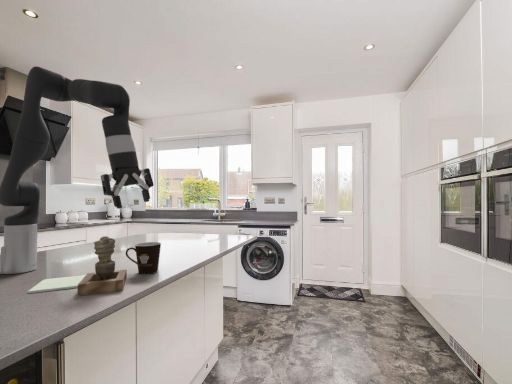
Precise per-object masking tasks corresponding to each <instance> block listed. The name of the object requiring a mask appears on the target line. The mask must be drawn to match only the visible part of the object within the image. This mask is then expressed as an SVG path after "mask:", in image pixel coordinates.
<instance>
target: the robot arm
mask: <svg viewBox="0 0 512 384" xmlns="http://www.w3.org/2000/svg"><path fill="white" fill-rule="evenodd" d="M24 89H25V90H24V95H23V102H22V108H21V112H20V117H19V120H18V125H17V128H16V131H15V135H14V138H13V142H12V148H11V152H10V156H9V161H8V164H7V166H6V171H5V173H4V176H3V178H2V181H1V182H0V205H2V206H4V207H23V209H22V210H20V211H19V212H18V213H15V214H13V215H12V214H11V215H10V216H6V217H5V218H4V221H3V223H4V224H3V246H1V247H0V275H4V274H5V275H14V274H23V273H27V272H31V271H35V270H37V268H38V267H37V266H38V220H39V214H40V211H39V210H40V200H41V189H40V186H39V184H38V183H36V182H32V181H20V180H21V178H22V177H23V175H24V174H25V173H26V172H27V171H28V170H29V169H30V168H31V167H33V166H35V164H37V163H38V162H39V161H40V160H42V159H43V158H44V157H45V155H46V154H47V152H48V148H49V144H50V140H51V134H50V131H49V129H48V127H47V124H46V122H45V121H44V118H43V115H42V112H41V100H42V98H43V99H47V100H50V101H55V102H70V101H71V102H79V103H81V104H82V103H83V104H86V105H87V104H88V105H90V106H92V107H96V108H102V109H103V108H104V109H113V115H108V116H104V117H103V118H102V119H101V126H102V130H103V135H104V138H105V146H106V151H107V152H106V153H107V156H108V160H109V165H110V168H111V173H110V174H109V173H103V174H101V176H100V181H101V186H102V192H103V195H104V196H108V197H109V196H110V197H111V198H112V201H113V207H115V208H116V209H122V208H123V204H122V199H121V197H120V195H119V194H120V192H121V190H122V189H123V187H128V186H131V185H132V186H134V185H135V186H137V187H139V188H140V189H141V194H142V195H141V196H142V198H143V202H145V203H148V202H149V201H150V200H151V195H150V190H149V189H150V188H153V187H154V181H153V178H152V173H151V170H150V168H143V169H140V167H139V160H138V156H137V151H136V146H135V142H134V139H133V137H132V133H131V129H130V128H131V127H130V123H129V120H130V119H129V118H130V106H131V105H130V102H131V100H130V97H131V96H130V94H129V92H128V90H127V88H126V87H124V86H123V85H121V84H118V83H112V82H106V81H102V80H101V81H100V80H91V79H84V78H77V79H76V78H74V79H72V80H71V79H70V78H67V77H65V76H64V75H63V74H59V73H57V72H54V71H52V70H49V69H46V68H43V67H41V66H32V68H30V70H29V72H28V74H27V78H26V83H25V88H24ZM141 175H142V176H143V178H144V180H143V179H142V178H141ZM112 179H113V180H114V181H115V182H114V184H113V185H111V181H112ZM112 186H113V187H112ZM111 187H112V188H111Z"/></svg>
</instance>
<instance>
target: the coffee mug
mask: <svg viewBox="0 0 512 384" xmlns="http://www.w3.org/2000/svg"><path fill="white" fill-rule="evenodd" d="M161 246H162V243H161V242H158V241H145V242H139V243H136V244H134V247H128V248H127V249H126V251H125V256H126V258H127V259H129V260H130V261H131V262H132V263H134V264H136V265H137V272H138V274H139V275H152V274H156V273H158V271H159V264H160V263H159V262H160V253H161ZM130 250H133V251H134V252H135V255H136V260H134V259H133V258H131V257H130V255H129V254H128V252H129V251H130Z"/></svg>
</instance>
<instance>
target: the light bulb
mask: <svg viewBox="0 0 512 384" xmlns="http://www.w3.org/2000/svg"><path fill="white" fill-rule="evenodd" d="M115 243H116V240H115V239H114V238H111V237H109V236H108V235H107V236H106V235H105V236H101V237H100V238H99V240H96V241H94V242H93V244H94V246H93V248H94V250H95V251H94V254H95V255H97V258H98V261H97V262H96V263H95V264H94V271H95V272H94V273H96V274H97V275H98V276H99V277H100V280H108V279H111V275H112V273H113V272H114V271H116V270H115V269H116V260H115V261H114V260H112V255H113V254H114V253H115V252H116V251H115V247H116V244H115Z"/></svg>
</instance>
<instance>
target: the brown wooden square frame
mask: <svg viewBox="0 0 512 384" xmlns="http://www.w3.org/2000/svg"><path fill="white" fill-rule="evenodd" d="M127 272H128V271H127V269H120V270H119V269H118V270H114V272H113V273H112V275H111V279H108V280H100V277H99V276H98V275H97V274H96V272H90V273H89V272H88V273H86V274H85V275H86V276H85V277H84V278H83V279H82V280H81V282H80V283H79V284H78V288H77V297H80V296H87V295H89V296H90V295H95V294H105V293H113V292H120V291H124V287H125V285H126V282H127V280H128V279H127V277H128V276H127V274H128V273H127Z"/></svg>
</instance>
